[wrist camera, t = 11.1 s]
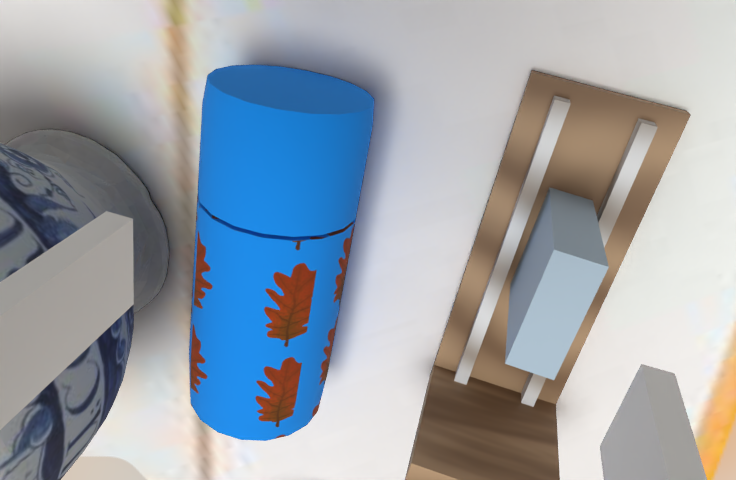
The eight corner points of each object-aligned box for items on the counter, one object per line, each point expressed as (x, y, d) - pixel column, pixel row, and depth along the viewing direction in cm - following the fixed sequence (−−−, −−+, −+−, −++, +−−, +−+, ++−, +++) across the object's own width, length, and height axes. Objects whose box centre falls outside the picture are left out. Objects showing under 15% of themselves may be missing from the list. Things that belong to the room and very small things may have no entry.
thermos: (338, 371, 55) (393, 89, 43) (298, 460, 45) (354, 129, 34) (223, 337, 56) (246, 55, 45) (160, 415, 47) (170, 84, 35)
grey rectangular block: (549, 187, 42) (553, 249, 34) (592, 200, 42) (608, 267, 33) (510, 284, 46) (504, 363, 37) (549, 297, 46) (553, 380, 37)
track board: (531, 70, 41) (531, 112, 30) (687, 111, 39) (744, 170, 29) (429, 376, 52) (403, 484, 42) (546, 414, 51) (550, 535, 41)
